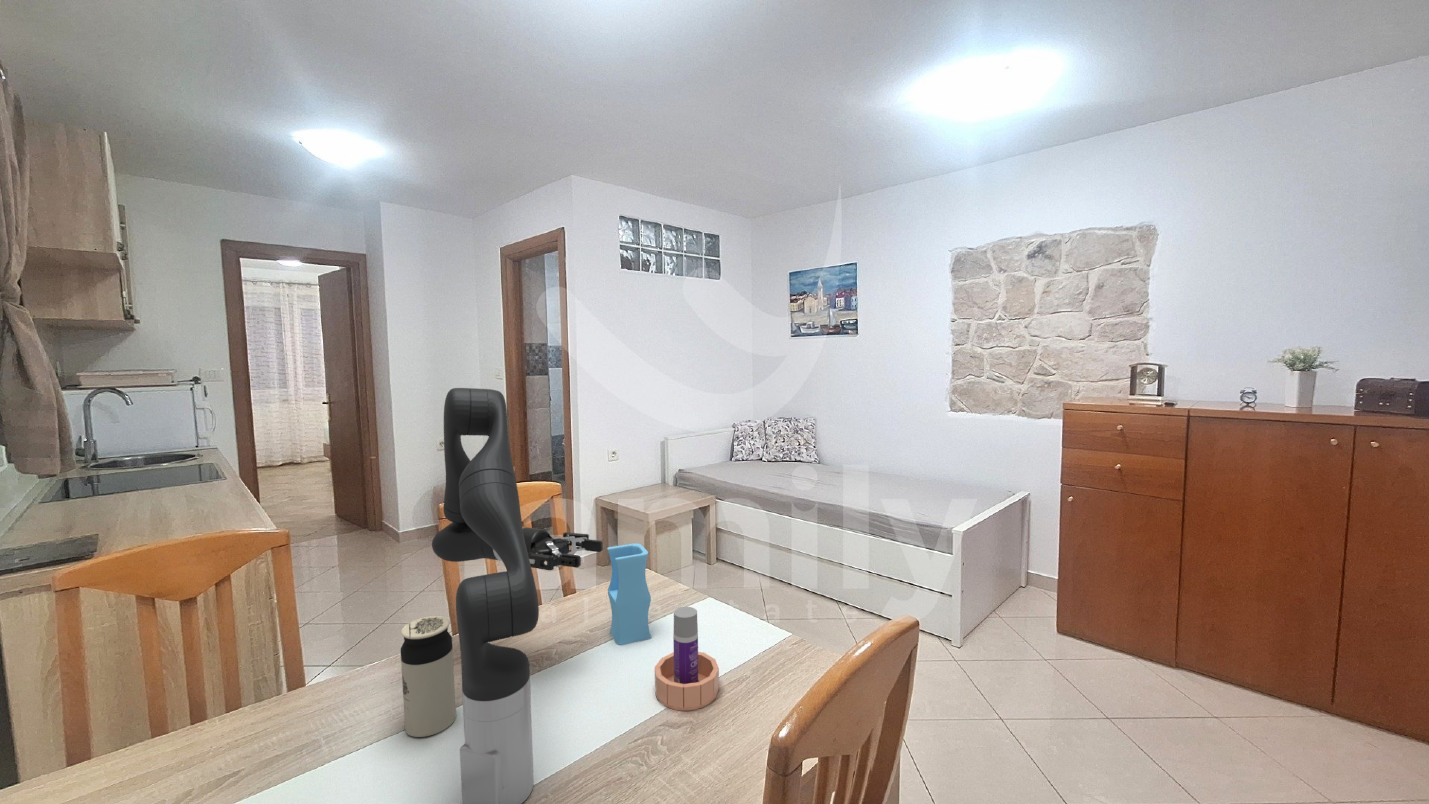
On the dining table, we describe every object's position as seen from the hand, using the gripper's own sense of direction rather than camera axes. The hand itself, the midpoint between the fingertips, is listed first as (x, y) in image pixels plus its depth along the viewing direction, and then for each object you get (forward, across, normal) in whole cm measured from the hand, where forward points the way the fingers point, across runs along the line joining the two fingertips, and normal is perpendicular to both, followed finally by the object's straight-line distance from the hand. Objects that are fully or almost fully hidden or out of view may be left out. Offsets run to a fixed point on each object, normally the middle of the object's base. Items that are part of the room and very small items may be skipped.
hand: (591, 553), depth 109 cm
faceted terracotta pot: (+20, 0, +25) cm, 32 cm away
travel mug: (-20, -22, +25) cm, 39 cm away
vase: (0, +16, +25) cm, 30 cm away
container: (+20, 0, +24) cm, 32 cm away
